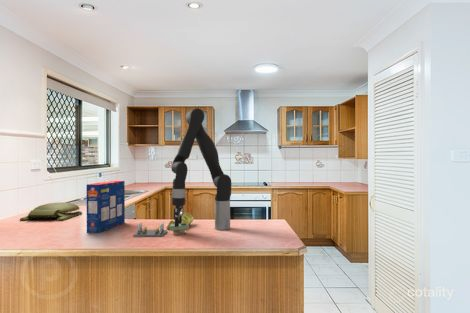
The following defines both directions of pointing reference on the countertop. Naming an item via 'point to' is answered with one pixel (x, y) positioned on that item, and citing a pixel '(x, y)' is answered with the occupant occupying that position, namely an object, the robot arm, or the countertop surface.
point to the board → (179, 227)
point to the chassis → (150, 231)
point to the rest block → (178, 232)
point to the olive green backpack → (53, 211)
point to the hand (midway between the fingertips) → (178, 225)
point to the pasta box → (105, 205)
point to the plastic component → (183, 219)
